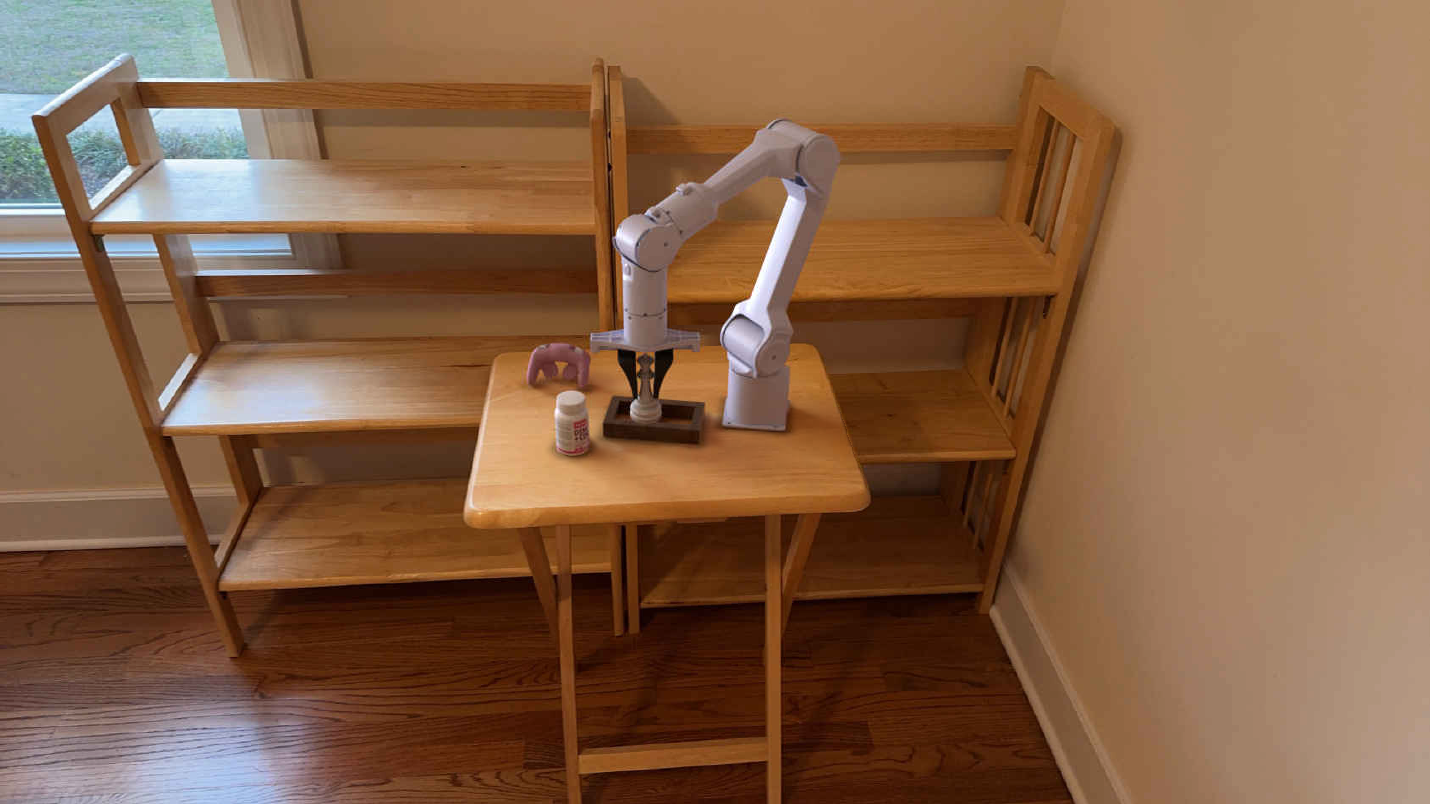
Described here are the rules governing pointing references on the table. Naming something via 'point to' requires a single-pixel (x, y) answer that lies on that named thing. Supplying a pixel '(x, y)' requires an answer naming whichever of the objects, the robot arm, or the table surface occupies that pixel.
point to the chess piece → (645, 394)
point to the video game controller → (559, 352)
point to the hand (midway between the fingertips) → (645, 395)
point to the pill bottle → (571, 423)
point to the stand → (656, 429)
